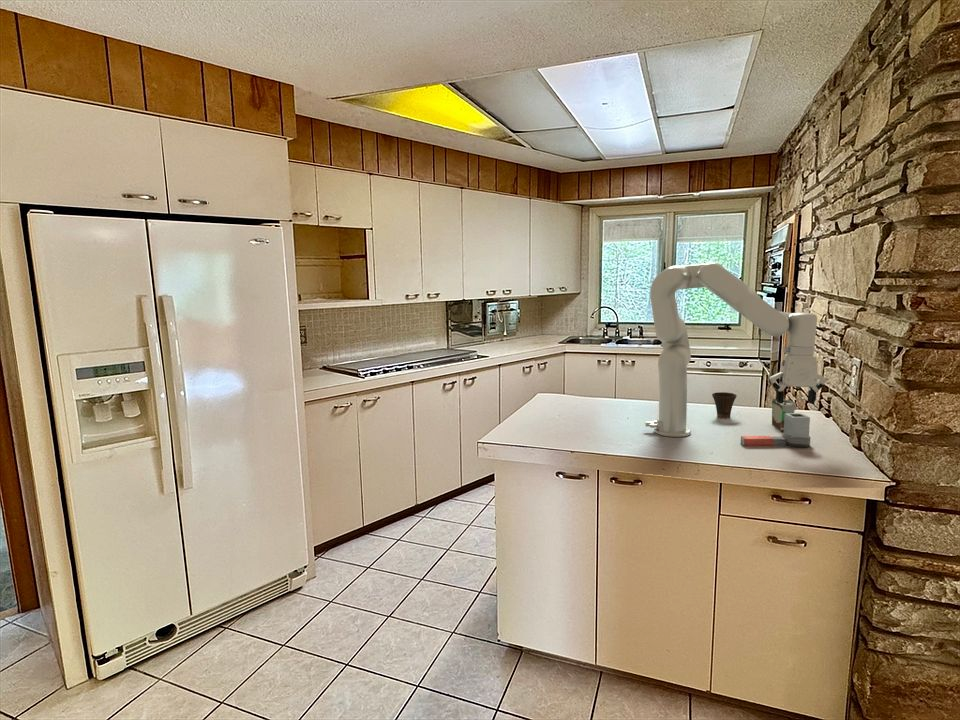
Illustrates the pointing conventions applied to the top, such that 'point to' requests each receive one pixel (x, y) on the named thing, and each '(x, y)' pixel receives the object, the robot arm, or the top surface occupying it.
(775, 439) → the ratchet
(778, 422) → the food container
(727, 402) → the cup
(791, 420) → the square aluminium tube
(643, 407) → the top surface
